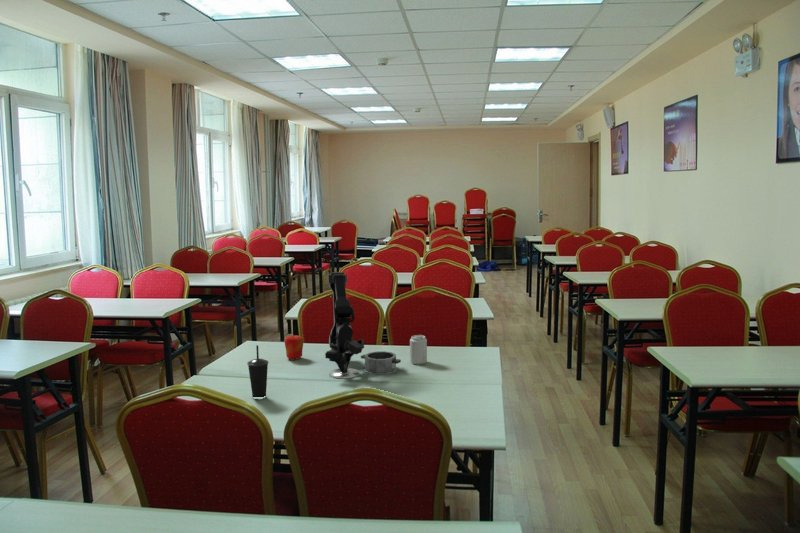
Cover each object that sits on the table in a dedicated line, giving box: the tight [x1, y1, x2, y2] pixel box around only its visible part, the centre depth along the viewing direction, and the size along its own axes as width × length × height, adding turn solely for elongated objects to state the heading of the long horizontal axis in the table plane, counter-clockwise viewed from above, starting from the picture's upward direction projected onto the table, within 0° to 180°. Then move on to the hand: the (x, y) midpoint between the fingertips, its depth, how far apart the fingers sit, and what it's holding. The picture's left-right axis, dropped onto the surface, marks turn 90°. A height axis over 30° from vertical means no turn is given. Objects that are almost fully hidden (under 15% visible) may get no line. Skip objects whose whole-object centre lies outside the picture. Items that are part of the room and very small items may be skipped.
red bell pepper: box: [284, 333, 304, 361], centre depth 289 cm, size 9×8×12 cm
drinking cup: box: [247, 345, 270, 398], centre depth 236 cm, size 8×8×20 cm
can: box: [409, 334, 428, 366], centre depth 281 cm, size 8×8×12 cm
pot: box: [360, 350, 402, 375], centre depth 272 cm, size 18×13×6 cm
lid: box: [328, 361, 360, 380], centre depth 266 cm, size 13×13×5 cm
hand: (344, 370), depth 266 cm, fingers closed on lid, 3 cm apart
